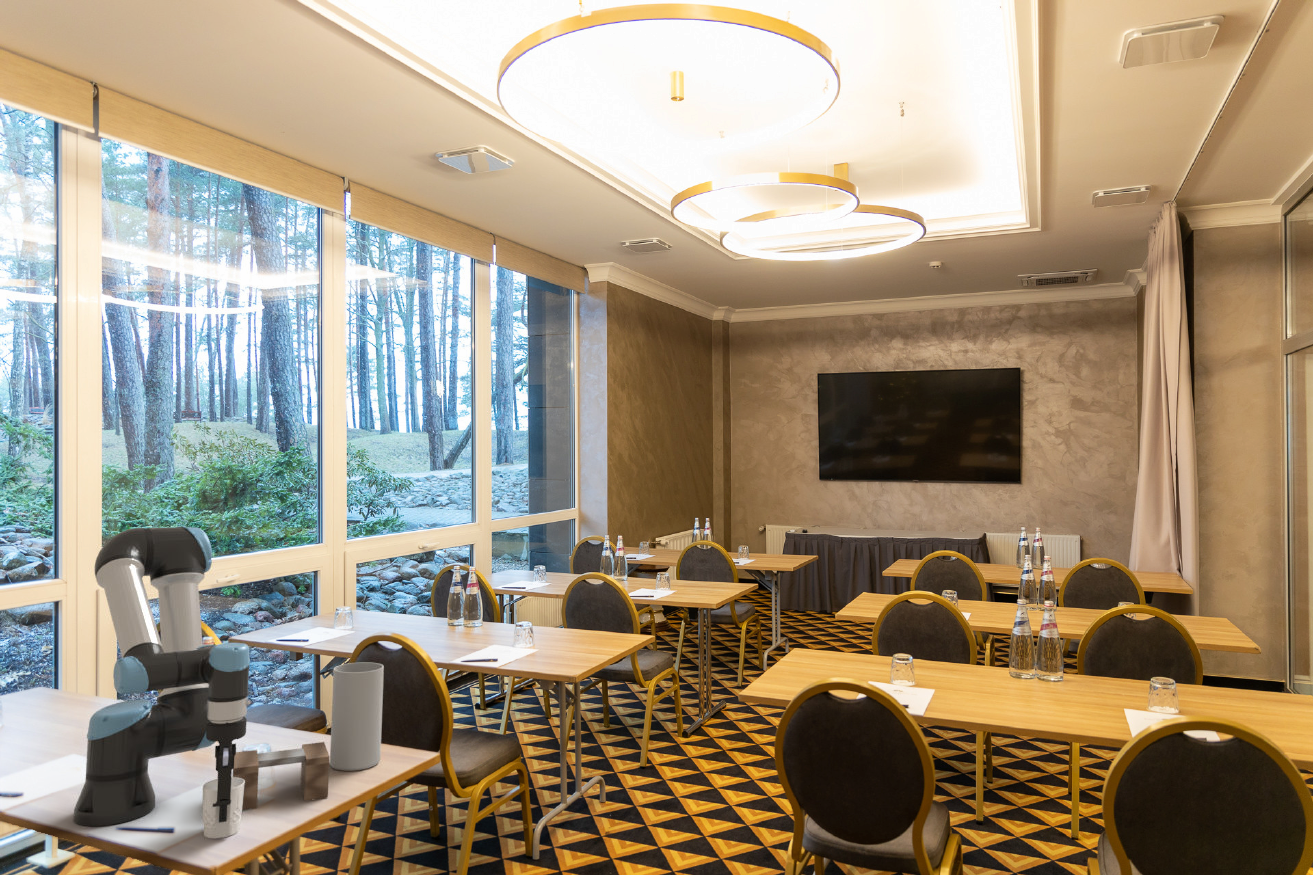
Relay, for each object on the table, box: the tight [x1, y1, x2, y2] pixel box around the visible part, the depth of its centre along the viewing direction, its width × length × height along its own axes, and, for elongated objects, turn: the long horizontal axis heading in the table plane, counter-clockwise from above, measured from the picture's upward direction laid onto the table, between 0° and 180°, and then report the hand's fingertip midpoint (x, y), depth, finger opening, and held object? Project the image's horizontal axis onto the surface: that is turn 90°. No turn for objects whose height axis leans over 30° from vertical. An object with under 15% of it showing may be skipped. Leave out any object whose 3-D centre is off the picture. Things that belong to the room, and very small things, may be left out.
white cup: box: [202, 776, 245, 839], centre depth 175 cm, size 8×8×10 cm
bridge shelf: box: [232, 741, 330, 811], centre depth 195 cm, size 20×12×10 cm, turn 117°
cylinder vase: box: [329, 661, 385, 772], centre depth 219 cm, size 12×12×25 cm
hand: (221, 828), depth 174 cm, fingers closed on white cup, 8 cm apart
